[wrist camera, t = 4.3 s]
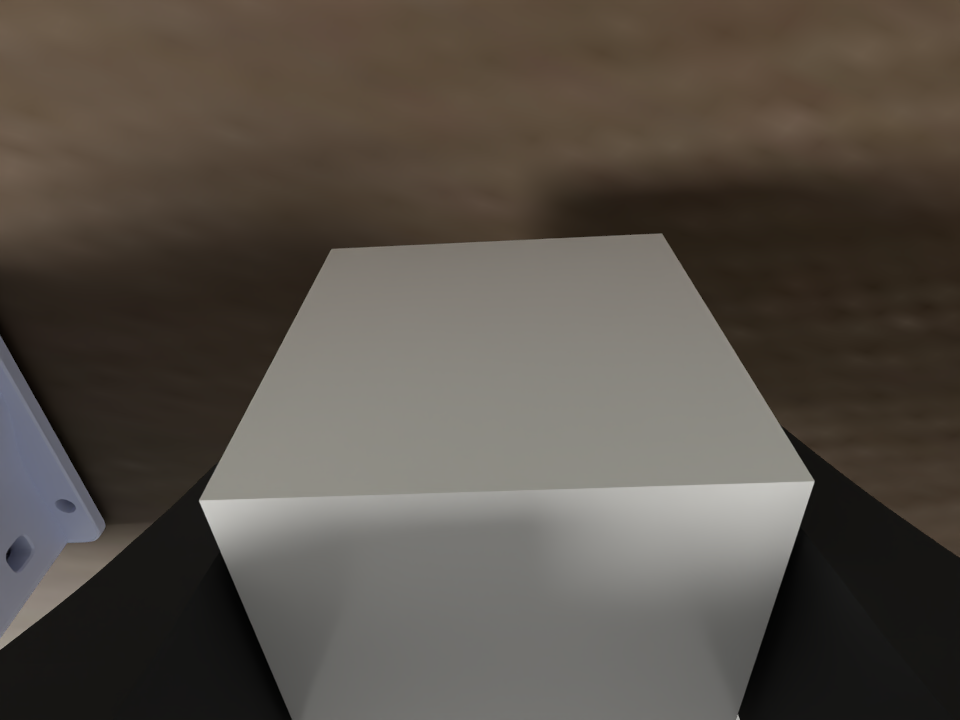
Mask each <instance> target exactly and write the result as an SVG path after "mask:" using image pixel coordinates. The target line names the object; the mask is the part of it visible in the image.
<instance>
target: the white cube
mask: <svg viewBox="0 0 960 720" xmlns="http://www.w3.org/2000/svg"><path fill="white" fill-rule="evenodd" d="M814 482H815V481H814V479H813V478H812V476H811V474H810V473H809V471H808V470H807V468H806V466H805V465H804V463H803V461H802V460H801V458H800V457H799V455H798V453H797V452H796V450H795V449H794V447H793V445H792V444H791V442H790V440H789V439H788V437H787V436H786V434H785V432H784V431H783V429H782V427H781V426H780V424H779V423H778V421H777V419H776V418H775V416H774V414H773V413H772V411H771V410H770V408H769V406H768V405H767V403H766V401H765V400H764V398H763V397H762V395H761V393H760V392H759V390H758V389H757V387H756V385H755V384H754V382H753V380H752V379H751V377H750V376H749V374H748V372H747V371H746V369H745V367H744V366H743V364H742V363H741V361H740V359H739V358H738V356H737V354H736V353H735V351H734V350H733V348H732V346H731V345H730V343H729V341H728V340H727V338H726V337H725V335H724V333H723V332H722V330H721V329H720V327H719V325H718V324H717V322H716V320H715V319H714V317H713V316H712V314H711V312H710V311H709V309H708V307H707V306H706V304H705V303H704V301H703V299H702V298H701V296H700V294H699V293H698V291H697V290H696V288H695V286H694V285H693V283H692V281H691V280H690V278H689V277H688V275H687V273H686V272H685V270H684V269H683V267H682V265H681V264H680V262H679V260H678V259H677V257H676V256H675V254H674V252H673V251H672V249H671V247H670V246H669V244H668V243H667V241H666V239H665V238H664V236H663V234H662V233H660V234H639V235H618V236H597V237H575V238H554V239H533V240H511V241H490V242H469V243H448V244H426V245H405V246H384V247H362V248H341V249H331V251H330V253H329V255H328V256H327V258H326V260H325V262H324V264H323V266H322V268H321V270H320V272H319V274H318V275H317V277H316V279H315V281H314V283H313V285H312V287H311V289H310V291H309V292H308V294H307V296H306V298H305V300H304V302H303V304H302V306H301V308H300V310H299V311H298V313H297V315H296V317H295V319H294V321H293V323H292V325H291V327H290V329H289V330H288V332H287V334H286V336H285V338H284V340H283V342H282V344H281V346H280V348H279V349H278V351H277V353H276V355H275V357H274V359H273V361H272V363H271V365H270V367H269V368H268V370H267V372H266V374H265V376H264V378H263V380H262V382H261V384H260V386H259V387H258V389H257V391H256V393H255V395H254V397H253V399H252V401H251V403H250V405H249V406H248V408H247V410H246V412H245V414H244V416H243V418H242V420H241V422H240V424H239V425H238V427H237V429H236V431H235V433H234V435H233V437H232V439H231V441H230V443H229V444H228V446H227V448H226V450H225V452H224V454H223V456H222V458H221V460H220V462H219V463H218V465H217V467H216V469H215V471H214V473H213V475H212V477H211V479H210V480H209V482H208V484H207V486H206V488H205V490H204V492H203V494H202V496H201V498H200V499H199V502H200V504H201V507H202V509H203V511H204V514H205V516H206V518H207V521H208V523H209V525H210V528H211V530H212V532H213V535H214V537H215V540H216V542H217V544H218V547H219V549H220V551H221V554H222V556H223V558H224V561H225V563H226V565H227V568H228V570H229V572H230V575H231V577H232V580H233V582H234V584H235V587H236V589H237V591H238V594H239V596H240V598H241V601H242V603H243V605H244V608H245V610H246V612H247V615H248V617H249V620H250V622H251V624H252V627H253V629H254V631H255V634H256V636H257V638H258V641H259V643H260V645H261V648H262V650H263V652H264V655H265V657H266V660H267V662H268V664H269V667H270V669H271V671H272V674H273V676H274V678H275V681H276V683H277V685H278V688H279V690H280V692H281V695H282V697H283V700H284V702H285V704H286V707H287V709H288V711H289V714H290V716H291V718H292V720H736V718H737V715H738V712H739V709H740V706H741V703H742V700H743V697H744V694H745V691H746V688H747V685H748V682H749V678H750V675H751V672H752V669H753V666H754V663H755V660H756V657H757V654H758V651H759V648H760V645H761V642H762V639H763V636H764V633H765V630H766V627H767V624H768V621H769V618H770V615H771V612H772V609H773V606H774V603H775V600H776V597H777V594H778V591H779V588H780V585H781V582H782V579H783V576H784V573H785V570H786V567H787V564H788V561H789V558H790V554H791V551H792V548H793V545H794V542H795V539H796V536H797V533H798V530H799V527H800V524H801V521H802V518H803V515H804V512H805V509H806V506H807V503H808V500H809V497H810V494H811V491H812V488H813V485H814Z"/></svg>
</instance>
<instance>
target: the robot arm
mask: <svg viewBox="0 0 960 720" xmlns="http://www.w3.org/2000/svg"><path fill="white" fill-rule="evenodd" d="M780 426H781V425H780ZM781 427H782V426H781ZM782 429H783V431H784V432H785V434H786V436H787V437H788V439H789V440H790V442H791V444H792V445H793V447H794V449H795V450H796V452H797V453H798V455H799V457H800V458H801V460H802V461H803V463H804V465H805V466H806V468H807V470H808V471H809V473H810V474H811V476H812V478H813V479H814V481H815V482H814V485H813V488H812V491H811V494H810V497H809V500H808V503H807V506H806V509H805V512H804V515H803V518H802V521H801V524H800V527H799V530H798V533H797V536H796V539H795V542H794V545H793V548H792V551H791V554H790V558H789V561H788V564H787V567H786V570H785V573H784V576H783V579H782V582H781V585H780V588H779V591H778V594H777V597H776V600H775V603H774V606H773V609H772V612H771V615H770V618H769V621H768V624H767V627H766V630H765V633H764V636H763V639H762V642H761V645H760V648H759V651H758V654H757V657H756V660H755V663H754V666H753V669H752V672H751V675H750V678H749V682H748V685H747V688H746V691H745V694H744V697H743V700H742V703H741V706H740V709H739V712H738V715H739V718H740V720H960V558H959V557H958V556H956V555H955V554H953V553H952V552H950V551H949V550H947V549H946V548H944V547H943V546H941V545H940V544H939V543H937V542H936V541H934V540H933V539H931V538H930V537H928V536H927V535H926V534H924V533H923V532H921V531H920V530H918V529H917V528H916V527H914V526H913V525H911V524H910V523H908V522H907V521H906V520H904V519H903V518H901V517H900V516H898V515H897V514H896V513H894V512H893V511H891V510H890V509H889V508H887V507H886V506H884V505H883V504H882V503H880V502H879V501H878V500H876V499H875V498H874V497H872V496H871V495H870V494H868V493H867V492H865V491H864V490H863V489H861V488H860V487H859V486H857V485H856V484H855V483H853V482H852V481H851V480H849V479H848V478H847V477H846V476H844V475H843V474H842V473H840V472H839V471H838V470H836V469H835V468H834V467H833V466H831V465H830V464H829V463H827V462H826V461H825V460H824V459H822V458H821V457H820V456H818V455H817V454H816V453H815V452H813V451H812V450H811V449H810V448H808V447H807V446H806V445H805V444H803V443H802V442H801V441H800V440H798V439H797V438H796V437H795V436H793V435H792V434H791V433H790V432H788V431H787V430H786V429H785V428H783V427H782ZM219 462H220V461H219ZM219 462H218V463H219ZM218 463H217V464H216V465H215V466H214V467H213V468H211V469H210V470H209V471H208V472H207V473H206V474H205V475H204V476H203V477H202V478H201V479H200V480H199V481H198V482H197V483H196V484H195V485H194V486H193V487H192V488H191V489H190V490H189V491H188V492H187V493H186V494H185V495H184V496H183V497H182V498H181V499H179V500H178V501H177V502H176V503H175V504H174V505H173V506H172V507H171V508H170V509H169V510H168V511H167V512H166V513H164V514H163V515H162V516H161V517H160V518H159V519H158V520H157V521H155V522H154V523H153V524H152V525H151V526H150V527H149V528H148V529H146V530H145V531H144V532H143V533H142V534H141V535H140V536H139V537H137V538H136V539H135V540H134V541H133V542H132V543H131V544H130V545H128V546H127V547H126V548H125V549H124V550H123V551H122V552H121V553H119V554H118V555H117V556H116V557H115V558H114V559H113V560H112V561H111V562H109V563H108V564H107V565H106V566H105V567H104V568H103V569H102V570H100V571H99V572H98V573H97V574H96V575H94V576H93V577H92V578H91V579H90V580H88V581H87V582H86V583H85V584H84V585H82V586H81V587H80V588H79V589H78V590H76V591H75V592H74V593H73V594H71V595H70V596H69V597H68V598H66V599H65V600H64V601H63V602H62V603H60V604H59V605H58V606H57V607H55V608H54V609H53V610H52V611H50V612H49V613H48V614H46V615H45V616H44V617H42V618H41V619H40V620H39V621H37V622H36V623H35V624H33V625H32V626H31V627H29V628H28V629H27V630H26V631H24V632H23V633H22V634H20V635H19V636H18V637H17V638H15V639H14V640H13V641H11V642H10V643H9V644H7V645H6V646H5V647H4V648H2V649H1V650H0V720H292V718H291V716H290V714H289V711H288V709H287V707H286V704H285V702H284V700H283V697H282V695H281V692H280V690H279V688H278V685H277V683H276V681H275V678H274V676H273V674H272V671H271V669H270V667H269V664H268V662H267V660H266V657H265V655H264V652H263V650H262V648H261V645H260V643H259V641H258V638H257V636H256V634H255V631H254V629H253V627H252V624H251V622H250V620H249V617H248V615H247V612H246V610H245V608H244V605H243V603H242V601H241V598H240V596H239V594H238V591H237V589H236V587H235V584H234V582H233V580H232V577H231V575H230V572H229V570H228V568H227V565H226V563H225V561H224V558H223V556H222V554H221V551H220V549H219V547H218V544H217V542H216V540H215V537H214V535H213V532H212V530H211V528H210V525H209V523H208V521H207V518H206V516H205V514H204V511H203V509H202V507H201V504H200V502H199V499H200V498H201V496H202V494H203V492H204V490H205V488H206V486H207V484H208V482H209V480H210V479H211V477H212V475H213V473H214V471H215V469H216V467H217V465H218ZM104 529H105V522H104V520H103V518H102V516H101V514H100V513H99V511H98V509H97V507H96V505H95V504H94V502H93V500H92V498H91V497H90V495H89V493H88V491H87V489H86V488H85V486H84V484H83V482H82V480H81V479H80V477H79V475H78V473H77V472H76V470H75V468H74V466H73V464H72V463H71V461H70V459H69V457H68V455H67V454H66V452H65V450H64V448H63V447H62V445H61V443H60V441H59V439H58V438H57V436H56V434H55V432H54V430H53V429H52V427H51V425H50V423H49V422H48V420H47V418H46V416H45V414H44V413H43V411H42V409H41V407H40V405H39V404H38V402H37V400H36V398H35V397H34V395H33V393H32V391H31V389H30V388H29V386H28V384H27V382H26V380H25V379H24V377H23V375H22V373H21V372H20V370H19V368H18V366H17V364H16V363H15V361H14V359H13V357H12V356H11V354H10V352H9V350H8V348H7V347H6V345H5V343H4V341H3V339H2V338H1V336H0V638H1V637H2V635H3V634H4V632H5V631H6V630H7V628H8V627H9V625H10V624H11V622H12V621H13V620H14V618H15V617H16V615H17V614H18V612H19V611H20V610H21V608H22V607H23V605H24V604H25V602H26V601H27V600H28V598H29V597H30V595H31V594H32V592H33V591H34V590H35V588H36V587H37V585H38V584H39V582H40V581H41V580H42V578H43V577H44V575H45V574H46V572H47V571H48V570H49V568H50V567H51V565H52V564H53V562H54V561H55V560H56V558H57V557H58V555H59V554H60V552H61V551H62V550H63V548H64V547H65V545H66V544H67V543H77V542H91V541H95V540H97V539H98V538H99V537H100V535H101V534H102V532H103V531H104Z"/></svg>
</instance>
